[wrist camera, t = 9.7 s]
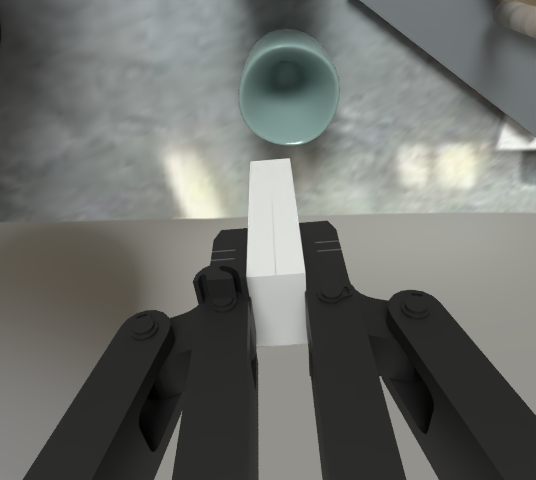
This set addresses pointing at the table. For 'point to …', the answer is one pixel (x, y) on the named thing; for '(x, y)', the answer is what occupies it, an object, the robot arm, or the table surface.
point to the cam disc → (517, 15)
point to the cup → (288, 88)
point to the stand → (472, 49)
